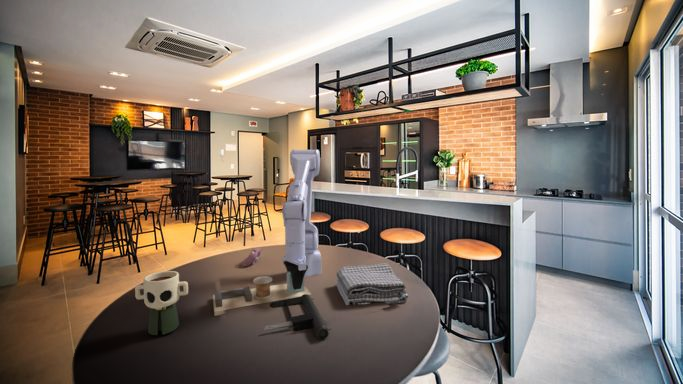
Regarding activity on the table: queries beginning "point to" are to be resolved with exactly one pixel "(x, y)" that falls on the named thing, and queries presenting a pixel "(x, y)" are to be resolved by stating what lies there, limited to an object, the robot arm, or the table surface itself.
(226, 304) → the winding board
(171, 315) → the character mug
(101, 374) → the table surface
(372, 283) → the towel
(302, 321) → the door handle
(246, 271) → the table surface
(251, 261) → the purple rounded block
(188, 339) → the table surface
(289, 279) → the pale blue block
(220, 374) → the table surface
